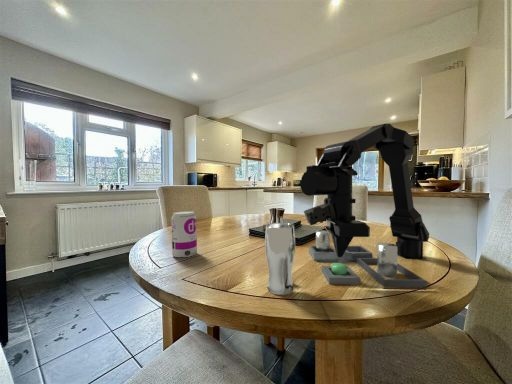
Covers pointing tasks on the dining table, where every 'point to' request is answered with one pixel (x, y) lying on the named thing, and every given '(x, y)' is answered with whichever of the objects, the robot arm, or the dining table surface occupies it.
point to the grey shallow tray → (348, 257)
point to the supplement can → (184, 234)
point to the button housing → (340, 276)
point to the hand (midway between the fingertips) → (339, 256)
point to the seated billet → (322, 241)
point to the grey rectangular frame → (412, 282)
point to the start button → (339, 269)
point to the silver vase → (280, 257)
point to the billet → (387, 259)
